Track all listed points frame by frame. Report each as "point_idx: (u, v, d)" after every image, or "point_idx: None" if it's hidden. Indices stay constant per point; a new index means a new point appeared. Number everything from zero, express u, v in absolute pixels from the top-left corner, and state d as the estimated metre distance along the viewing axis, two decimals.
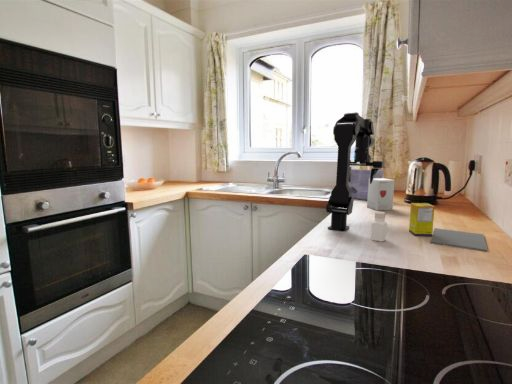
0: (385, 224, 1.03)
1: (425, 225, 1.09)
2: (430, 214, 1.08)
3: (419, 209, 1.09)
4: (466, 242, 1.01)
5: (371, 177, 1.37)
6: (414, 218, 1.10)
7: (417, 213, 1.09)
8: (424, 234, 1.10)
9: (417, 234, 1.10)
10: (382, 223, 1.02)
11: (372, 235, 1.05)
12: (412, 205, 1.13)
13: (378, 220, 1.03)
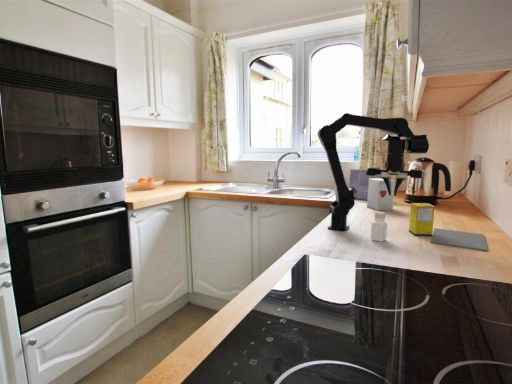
0: (385, 224, 1.03)
1: (425, 225, 1.09)
2: (430, 214, 1.08)
3: (419, 209, 1.09)
4: (466, 242, 1.01)
5: (396, 188, 1.14)
6: (414, 218, 1.10)
7: (417, 213, 1.09)
8: (424, 234, 1.10)
9: (417, 234, 1.10)
10: (382, 223, 1.02)
11: (372, 235, 1.05)
12: (412, 205, 1.13)
13: (378, 220, 1.03)
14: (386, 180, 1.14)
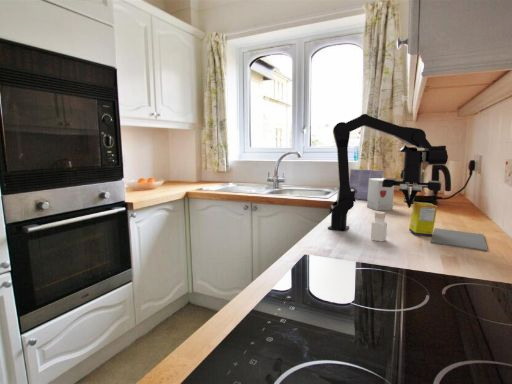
0: (385, 224, 1.03)
1: (426, 225, 1.09)
2: (432, 214, 1.08)
3: (422, 208, 1.08)
4: (466, 242, 1.01)
5: (411, 200, 1.12)
6: (416, 217, 1.10)
7: (419, 212, 1.09)
8: (424, 233, 1.10)
9: (417, 233, 1.10)
10: (382, 223, 1.02)
11: (372, 235, 1.05)
12: (415, 204, 1.12)
13: (378, 220, 1.03)
14: (405, 192, 1.11)
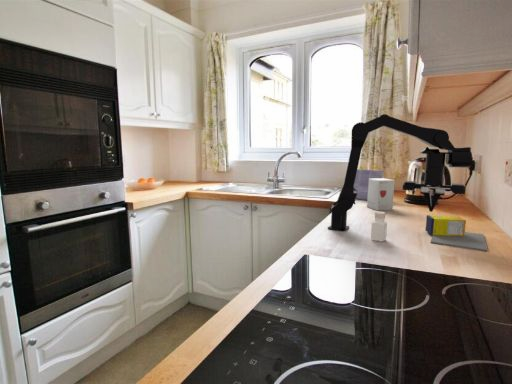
0: (385, 224, 1.03)
1: (443, 228, 1.08)
2: (455, 233, 1.08)
3: (462, 222, 1.07)
4: (466, 242, 1.01)
5: (433, 204, 1.08)
6: (449, 218, 1.09)
7: (457, 220, 1.07)
8: (432, 227, 1.09)
9: (433, 221, 1.09)
10: (382, 223, 1.02)
11: (372, 235, 1.05)
12: (459, 217, 1.11)
13: (378, 220, 1.03)
14: (427, 195, 1.08)
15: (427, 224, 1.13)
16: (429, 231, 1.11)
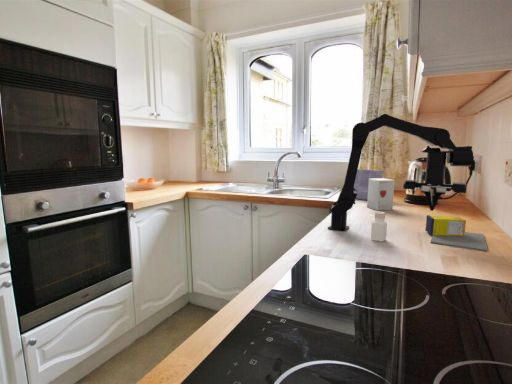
0: (385, 224, 1.03)
1: (443, 228, 1.08)
2: (455, 233, 1.08)
3: (462, 222, 1.07)
4: (466, 242, 1.01)
5: (434, 203, 1.08)
6: (449, 218, 1.09)
7: (457, 220, 1.07)
8: (433, 227, 1.09)
9: (433, 221, 1.09)
10: (382, 223, 1.02)
11: (372, 235, 1.05)
12: (459, 217, 1.11)
13: (378, 220, 1.03)
14: (428, 194, 1.07)
15: (427, 224, 1.13)
16: (429, 231, 1.11)
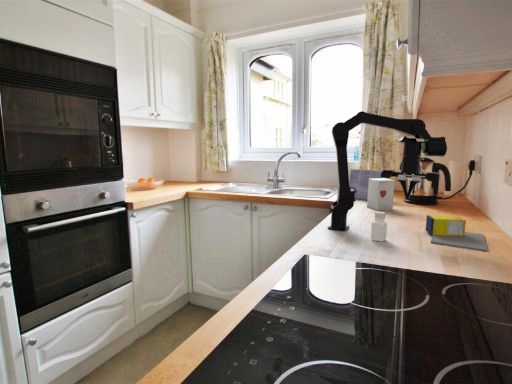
0: (385, 224, 1.03)
1: (443, 228, 1.08)
2: (455, 233, 1.08)
3: (462, 222, 1.07)
4: (466, 242, 1.01)
5: (409, 191, 1.11)
6: (449, 218, 1.09)
7: (457, 220, 1.07)
8: (433, 227, 1.09)
9: (433, 221, 1.09)
10: (382, 223, 1.02)
11: (372, 235, 1.05)
12: (459, 217, 1.11)
13: (378, 220, 1.03)
14: (403, 183, 1.11)
15: (427, 224, 1.13)
16: (429, 231, 1.11)
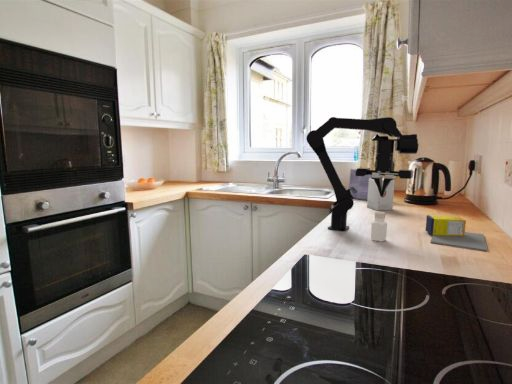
0: (385, 224, 1.03)
1: (443, 228, 1.08)
2: (455, 233, 1.08)
3: (462, 222, 1.07)
4: (466, 242, 1.01)
5: (383, 189, 1.12)
6: (449, 218, 1.09)
7: (457, 220, 1.07)
8: (433, 227, 1.09)
9: (433, 221, 1.09)
10: (382, 223, 1.02)
11: (372, 235, 1.05)
12: (459, 217, 1.11)
13: (378, 220, 1.03)
14: (377, 180, 1.12)
15: (427, 224, 1.13)
16: (429, 231, 1.11)
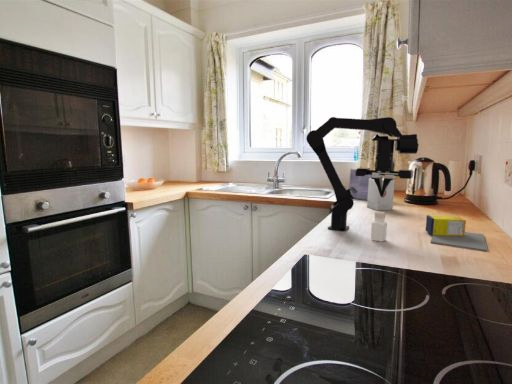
0: (385, 224, 1.03)
1: (443, 228, 1.08)
2: (455, 233, 1.08)
3: (462, 222, 1.07)
4: (466, 242, 1.01)
5: (383, 189, 1.12)
6: (449, 218, 1.09)
7: (457, 220, 1.07)
8: (433, 227, 1.09)
9: (433, 221, 1.09)
10: (382, 223, 1.02)
11: (372, 235, 1.05)
12: (459, 217, 1.11)
13: (378, 220, 1.03)
14: (377, 180, 1.12)
15: (427, 224, 1.13)
16: (429, 231, 1.11)
